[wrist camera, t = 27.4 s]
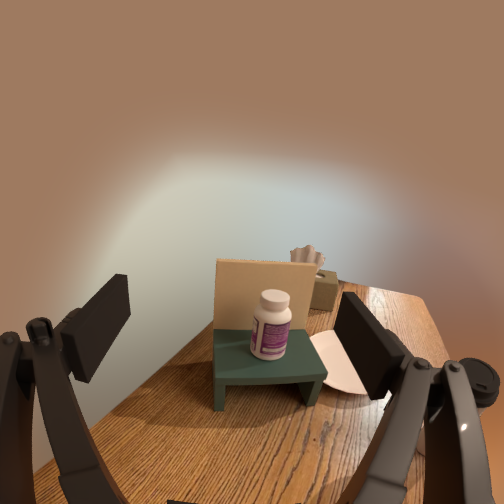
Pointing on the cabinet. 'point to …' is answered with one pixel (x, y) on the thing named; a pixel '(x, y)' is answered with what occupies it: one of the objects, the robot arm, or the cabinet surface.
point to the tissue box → (318, 278)
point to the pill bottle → (271, 325)
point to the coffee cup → (475, 389)
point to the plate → (337, 363)
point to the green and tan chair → (241, 321)
